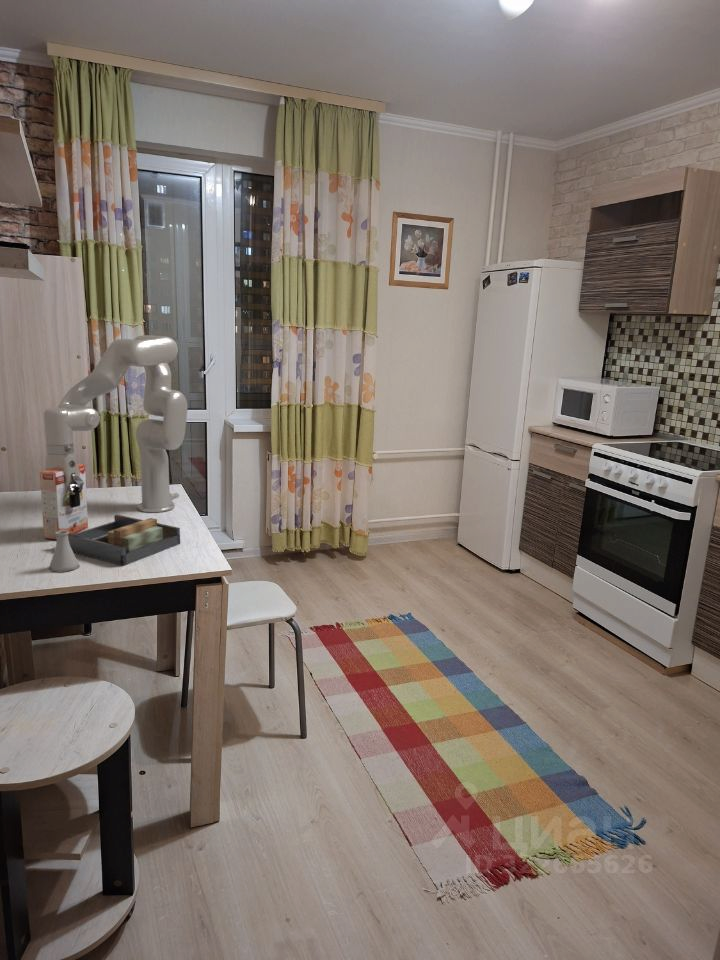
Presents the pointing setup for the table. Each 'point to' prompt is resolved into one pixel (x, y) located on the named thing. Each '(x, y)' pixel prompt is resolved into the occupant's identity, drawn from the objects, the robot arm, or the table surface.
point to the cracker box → (61, 504)
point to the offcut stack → (136, 534)
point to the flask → (63, 554)
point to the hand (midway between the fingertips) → (64, 504)
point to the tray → (114, 553)
